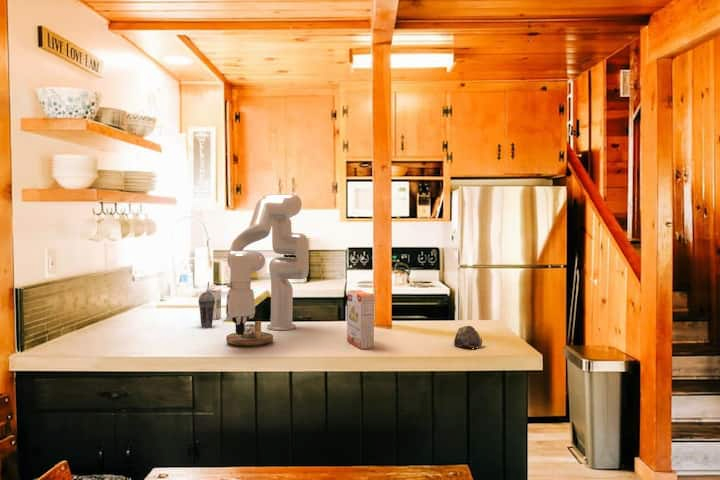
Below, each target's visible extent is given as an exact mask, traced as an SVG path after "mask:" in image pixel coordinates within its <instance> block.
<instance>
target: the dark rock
mask: <svg viewBox="0 0 720 480" xmlns="http://www.w3.org/2000/svg"><path fill="white" fill-rule="evenodd" d="M453 341H454V342H453V347H454V346H457V347H460V346H464V347H465V348H467V349H469V348H477V347H479V348H480V347H481V346H482V344H483V339H482V337H480V334H479V332H478V331H477V330H476V329H475V328H474V327H473V326H472V325H464V326H461V327H459V328H458V330H457V332H456V335H455V337H454V340H453ZM477 349H478V348H477Z"/></svg>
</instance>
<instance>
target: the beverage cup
mask: <svg viewBox="0 0 720 480" xmlns="http://www.w3.org/2000/svg"><path fill="white" fill-rule="evenodd" d="M209 289H210V281H208V282H207V288H206V290H207V292H206V291H204V292H203V293H201V294H200V295H199V298H198V307H199V316H200V325H201V328H204V329H208V328H209V329H210V328H212V327H213V321H214V320H213V311H214V304H215V298H214V296H213V294H212V293H210V292H208V290H209Z"/></svg>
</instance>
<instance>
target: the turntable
mask: <svg viewBox="0 0 720 480" xmlns="http://www.w3.org/2000/svg"><path fill="white" fill-rule="evenodd" d="M254 325H255V338H242V337H241V335H238V334H237V333H236V332H234V333H229V334H227V335H226V342H227V343H229V344H232V345H236V346H239V345H259V344H262V345H264V344H269V343H271V342H273V340H274V335H273V334H272V333H270V332H266V331H262V321H261V320H256V321H254ZM259 346H260V345H259Z"/></svg>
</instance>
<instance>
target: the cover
mask: <svg viewBox="0 0 720 480" xmlns="http://www.w3.org/2000/svg"><path fill="white" fill-rule="evenodd" d="M241 337H242V338H255V323H246V324H245V332H244V335H241Z"/></svg>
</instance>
